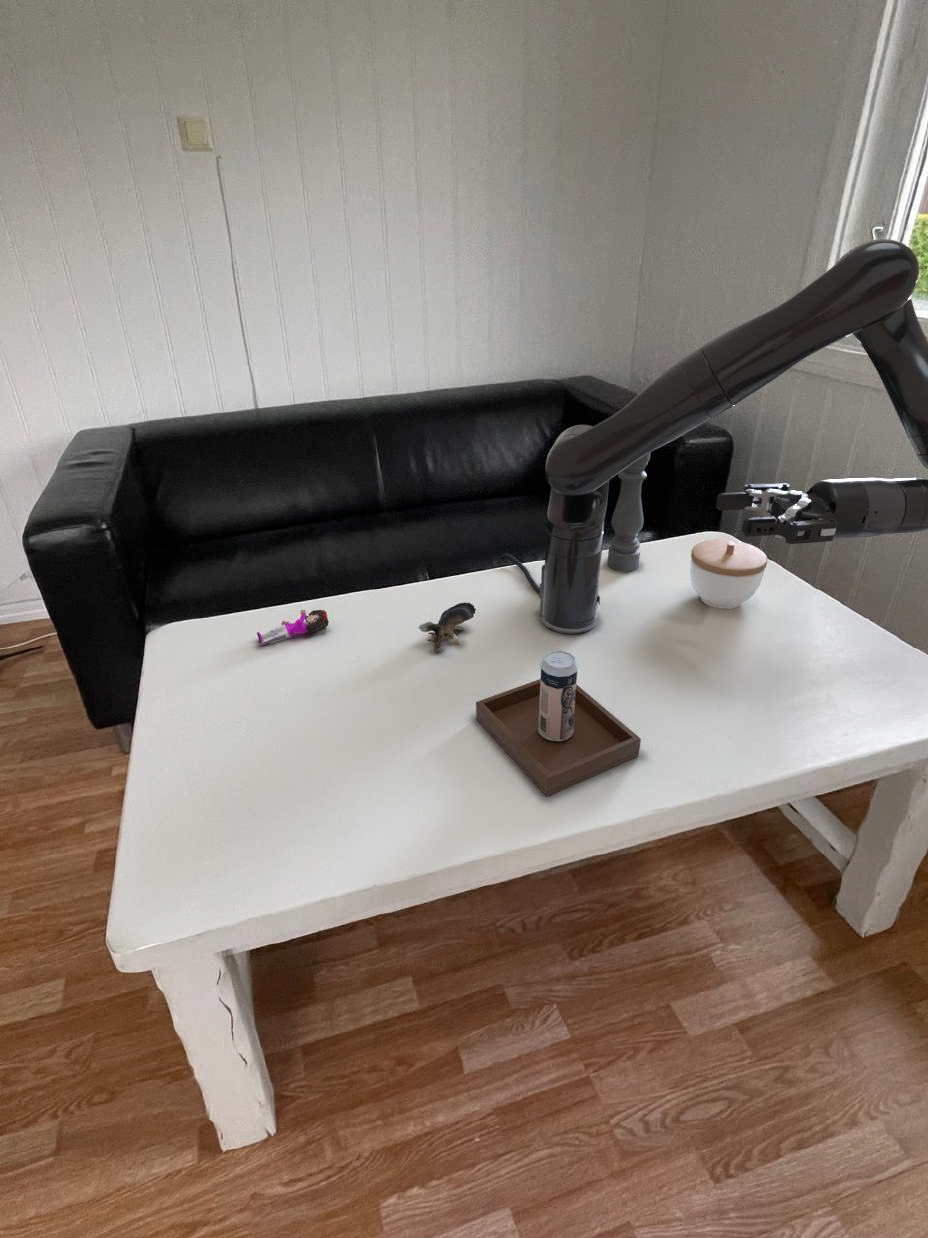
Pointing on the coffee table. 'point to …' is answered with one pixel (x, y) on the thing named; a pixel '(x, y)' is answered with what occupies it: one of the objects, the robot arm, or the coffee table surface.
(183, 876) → the coffee table surface
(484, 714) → the tray
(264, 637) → the character figurine
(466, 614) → the brown irregular figure
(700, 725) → the coffee table surface
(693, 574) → the lidded bowl
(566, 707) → the beer can
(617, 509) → the candle holder
